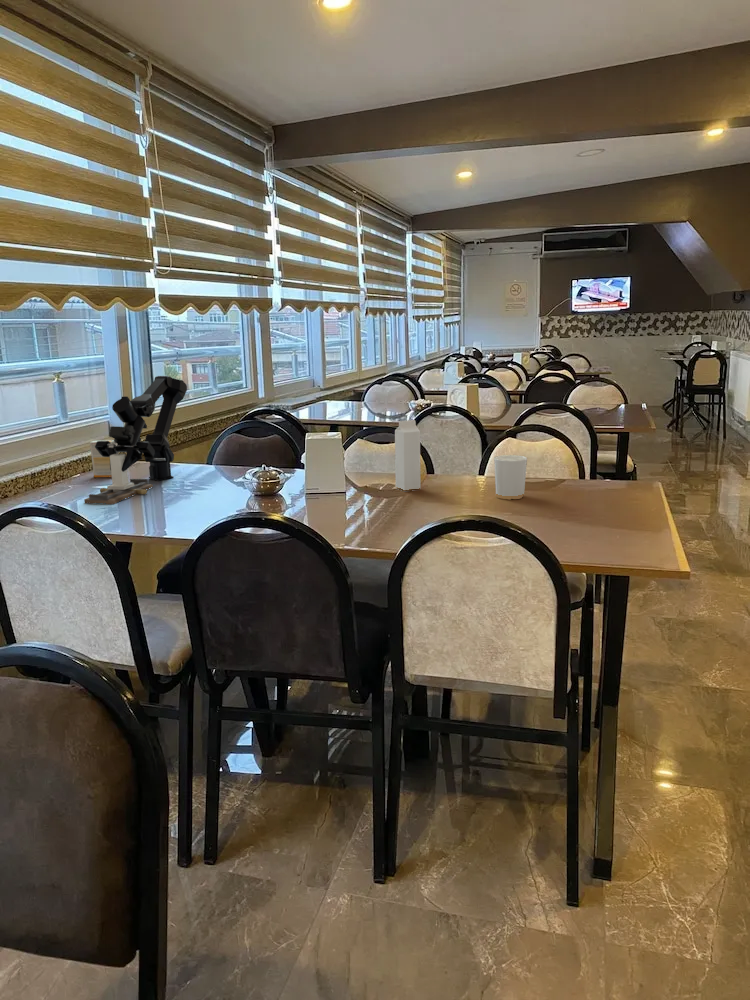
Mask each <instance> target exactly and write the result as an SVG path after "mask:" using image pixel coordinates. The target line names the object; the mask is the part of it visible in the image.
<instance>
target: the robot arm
mask: <svg viewBox="0 0 750 1000" xmlns="http://www.w3.org/2000/svg"><path fill="white" fill-rule="evenodd" d="M187 391H188V386H187V383H186V382H185V381H184V380H183V379H177V378H173V377H171V376H169V375H157V376H154V380H153V382H152V383H150V385H149V386H148V387H147V388H146V390H145V391H144V392H143V394H140V395H138V396H135V397H134V398H132V399H130V397H129V396H124V395H123V396H121V398H119V399H117V400H116V401H115V402H114V403H113V404H112V406H111V407H112V410H113V412H114V413H115V415H116V416H117V418H118V419H119V420H120V422H122V423H123V424H124V426H110V427H109V431H108V432H109V435H108V437H109V438H112V439H113V440H114V442H115V443H117V445H115V444H111V443H110V442H109V441H97V443H96V445H95V448H96V449H97V450H98V452H99V453H100V454H101V455H102V456H103V457H110V455H113V454H120V453H126V458H125V460H124V463H123V466H122V471H123V472H124V471H125V470H128V469H129V468H131V466H133V465H134V464H135V463H137V462H138V461H139V460H142V459H143V457H144V461H145V462H146V463H149V467H148V469H149V477H148V479H149V478H151V479H150V480H154V479H155V481H163V479H164V480H169V479H174V477H175V476H173V475H172V472H171V471H172V470H171V462H174V459H175V453H174V452H173V451H172V450H171V448H170V445H171V444H170V443H169V439H168V436H169V432H170V429H171V426H172V422H173V420H174V419H173V418H174V417H175V416H174V415H175V413H176V409H177V406H178V404H179V403H180V402H181V401H182V400H183V399H184V397H185V396H186V393H187ZM161 396H162V398H163V401H162V403H161V406H160V410H159V414H158V416H157V420H156V423H155V426H154V430H153V432H152V433H148V434H146V436H145V439H144V441H142V438H141V435H142V432H143V429H148V426H147V423H146V420H144V418H149V417H151V416H152V415H153V413H154V411H155V408H156V407H155V404H156V403H157V401H158V400H159V399H160V398H161ZM142 456H143V457H142ZM110 470H111V464H110Z"/></svg>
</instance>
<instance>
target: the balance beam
mask: <svg viewBox="0 0 750 1000" xmlns="http://www.w3.org/2000/svg"><path fill="white" fill-rule="evenodd" d="M148 479H149V478H130V479H129V483H134V486H133V487H130V488H128V489H125V490H121V491H119V492H113V489H107V488H105V487H104V488H103V487H101V488H100V489H99V492H98V493H97V494H94V493H91V494H88V497H87V498H84V504H93V503H103V504H102V505H115V503H116V504H118V503H120V502H122V501H121V500H123V499H125V498H127V499H129V498H128V497H130V496H132V495H134V494H137V495H145V494H146V493H147V494H148V490H146V489H149V488H151V487H153V488H154V484H153V483H149V481H148ZM151 489H152V488H151ZM149 490H150V489H149ZM147 494H146V495H147ZM132 497H133V496H132ZM130 498H131V497H130ZM125 500H126V499H125ZM119 501H120V502H119ZM123 501H124V500H123ZM117 502H118V503H117ZM104 503H106V504H104Z"/></svg>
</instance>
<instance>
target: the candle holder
mask: <svg viewBox="0 0 750 1000" xmlns="http://www.w3.org/2000/svg"><path fill="white" fill-rule="evenodd" d="M493 460H494V463H493V464H494V480H495V481H494V483H495V495H496V494H498V495H502V496H518V495H522V494H524V495H525V487H526V479H527V478H526V476H527V463H528V457H526V456H523V455H515V454H513V455H512V454H508V455H506V454H505V455H504V454H503V455H498V456H495V457H494V458H493Z"/></svg>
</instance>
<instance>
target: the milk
mask: <svg viewBox="0 0 750 1000" xmlns="http://www.w3.org/2000/svg"><path fill="white" fill-rule="evenodd" d="M394 452H395V453H394V461H395V462H394V463H395V468H394V470H395V473H394V474H395V475H394V476H395V488H396V487H398V488H401V489H403V490H409V489H419V488H420V489H421V430H420V429H419V427H418V426H417V423H416V420H415V419H412V420H411V419H410V420H399V421H398V427H396V429H395V430H394Z"/></svg>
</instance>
